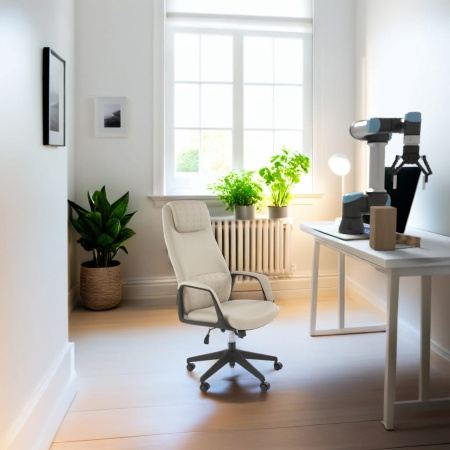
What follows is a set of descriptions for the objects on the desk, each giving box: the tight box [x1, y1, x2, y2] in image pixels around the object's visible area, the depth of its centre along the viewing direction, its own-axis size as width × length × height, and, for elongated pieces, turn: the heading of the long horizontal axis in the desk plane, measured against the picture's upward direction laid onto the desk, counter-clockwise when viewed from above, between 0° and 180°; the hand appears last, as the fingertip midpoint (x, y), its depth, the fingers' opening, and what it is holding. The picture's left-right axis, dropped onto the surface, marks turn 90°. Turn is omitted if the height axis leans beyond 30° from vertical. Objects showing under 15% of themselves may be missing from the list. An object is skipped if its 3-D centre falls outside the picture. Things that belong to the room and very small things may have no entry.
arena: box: [395, 232, 421, 250], centre depth 248 cm, size 15×14×5 cm
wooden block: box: [368, 205, 398, 251], centre depth 239 cm, size 10×10×20 cm
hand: (408, 189), depth 242 cm, fingers open, 13 cm apart
